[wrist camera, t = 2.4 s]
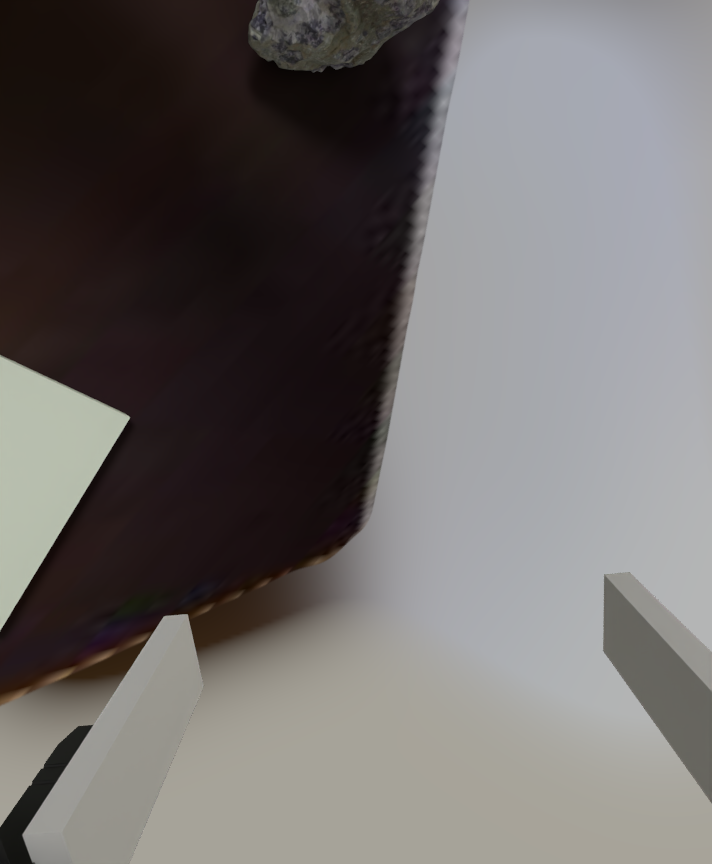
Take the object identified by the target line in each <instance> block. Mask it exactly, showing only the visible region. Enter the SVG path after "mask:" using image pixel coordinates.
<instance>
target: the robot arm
mask: <svg viewBox="0 0 712 864" xmlns="http://www.w3.org/2000/svg"><path fill="white" fill-rule="evenodd" d="M603 645H604V646H603V649H604V650H603V651H604V653H605V654H606V655H607V657H608V658H609V660H610V661H611V662H612V664H613V665H614V667H615V668H616V669H617V671H618V672H619V674H620V675H621V676H622V678H623V679H624V681H625V682H626V684H627V685H628V686H629V688H630V689H631V690H632V692H633V693H634V695H635V696H636V697H637V699H638V700H639V702H640V703H641V705H642V706H643V707H644V709H645V710H646V712H647V713H648V714H649V716H650V717H651V719H652V720H653V721H654V723H655V724H656V726H657V727H658V728H659V730H660V731H661V733H662V734H663V735H664V737H665V738H666V740H667V741H668V742H669V744H670V745H671V747H672V748H673V749H674V751H675V752H676V754H677V755H678V757H679V758H680V759H681V761H682V762H683V764H684V765H685V766H686V768H687V769H688V771H689V772H690V773H691V775H692V776H693V778H694V779H695V780H696V782H697V783H698V785H699V786H700V787H701V789H702V790H703V792H704V793H705V795H706V796H707V797H708V799H709V800H710V802H711V803H712V652H711V651H710V650H709V649H708V648H707V647H706V646H705V645H704V644H703V643H702V642H700V641H699V640H698V639H697V638H696V637H695V636H694V635H693V634H692V633H691V632H690V631H689V630H688V629H687V628H686V627H685V626H684V625H683V624H682V623H681V622H680V621H679V620H678V619H677V618H676V617H675V616H674V615H673V614H672V613H671V612H670V611H669V610H667V608H665V607H664V605H662V604H661V603H660V602H659V601H658V600H657V599H656V598H655V597H654V596H653V595H652V594H651V593H650V592H649V591H648V590H647V589H646V588H645V587H644V586H643V585H642V584H641V583H640V582H639V581H638V580H637V579H636V578H635V577H634V576H633V575H632V574H631V573H629V572H628V573H617V574H607V575H604V642H603ZM203 687H204V686H203V681H202V676H201V672H200V667H199V663H198V658H197V654H196V650H195V645H194V641H193V637H192V632H191V627H190V623H189V619H188V614H184V615H173V616H164V617H163V619H162V620H161V622H160V623H159V625H158V626H157V628H156V629H155V631H154V633H153V634H152V636H151V637H150V639H149V640H148V642H147V643H146V645H145V646H144V648H143V650H142V651H141V653H140V654H139V656H138V657H137V659H136V660H135V662H134V664H133V665H132V667H131V668H130V670H129V671H128V673H127V674H126V676H125V677H124V679H123V681H122V682H121V683H120V685H119V687H118V688H117V690H116V691H115V693H114V694H113V696H112V697H111V699H110V700H109V702H108V703H107V705H106V707H105V708H104V710H103V711H102V713H101V714H100V716H99V717H98V719H97V721H96V722H95V724H94V725H88V726H78V727H77V728H76V729H75V730H74V731H73V732H71V733H70V734H69V735H68V736H67V737H66V738H65V739H64V740H63V741H62V742H60V743H59V744H58V746H57V747H56V748H55V750H54V751H53V753H52V754H51V756H50V757H49V758H48V760H47V761H46V763H45V764H44V768H43V769H41V770H40V771H39V773H38V774H37V776H36V777H35V778H34V780H33V781H32V785H31V786H29V787H28V788H27V790H26V791H25V793H24V794H23V795H22V797H21V798H20V800H19V801H18V803H17V804H16V805H15V807H14V808H13V810H12V812H11V813H10V814H9V815H8V817H7V818H6V820H5V821H4V823H3V824H2V825H1V827H0V864H129V863H130V861H131V858H132V856H133V853H134V851H135V849H136V846H137V844H138V841H139V839H140V837H141V835H142V832H143V830H144V827H145V825H146V823H147V820H148V818H149V816H150V813H151V811H152V808H153V806H154V804H155V801H156V799H157V797H158V794H159V792H160V789H161V787H162V784H163V782H164V780H165V778H166V775H167V773H168V770H169V768H170V766H171V763H172V761H173V759H174V756H175V754H176V751H177V749H178V747H179V744H180V742H181V740H182V737H183V735H184V732H185V730H186V727H187V725H188V723H189V721H190V718H191V716H192V713H193V711H194V709H195V706H196V704H197V702H198V699H199V697H200V694H201V692H202V690H203Z"/></svg>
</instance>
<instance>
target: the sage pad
mask: <svg viewBox="0 0 712 864" xmlns="http://www.w3.org/2000/svg"><path fill="white" fill-rule="evenodd" d="M129 419H130V417H129V416H128V415H126V414H125V413H123V412H121V411H119V410H117V409H114V408H112V407H110V406H108V405H106V404H104V403H102V402H100V401H97V400H95V399H93V398H91V397H89V396H87V395H85V394H82V393H80V392H78V391H76V390H74V389H72V388H70V387H68V386H65V385H63V384H61V383H59V382H57V381H55V380H53V379H50V378H48V377H46V376H44V375H42V374H40V373H38V372H36V371H33V370H31V369H29V368H27V367H25V366H23V365H21V364H18V363H16V362H14V361H12V360H10V359H8V358H6V357H4V356H1V355H0V630H1V628H2V627H3V625H4V624H5V622H6V620H7V619H8V617H9V615H10V614H11V612H12V610H13V609H14V607H15V606H16V604H17V602H18V601H19V599H20V597H21V596H22V594H23V592H24V591H25V589H26V588H27V586H28V584H29V583H30V581H31V579H32V578H33V576H34V574H35V573H36V571H37V569H38V568H39V566H40V565H41V563H42V561H43V560H44V558H45V556H46V555H47V553H48V551H49V550H50V548H51V547H52V545H53V543H54V542H55V540H56V538H57V537H58V535H59V533H60V532H61V530H62V529H63V527H64V525H65V524H66V522H67V520H68V519H69V517H70V515H71V514H72V512H73V510H74V509H75V507H76V506H77V504H78V502H79V501H80V499H81V497H82V496H83V494H84V492H85V491H86V489H87V488H88V486H89V484H90V483H91V481H92V479H93V478H94V476H95V474H96V473H97V471H98V470H99V468H100V466H101V465H102V463H103V461H104V460H105V458H106V456H107V455H108V453H109V451H110V450H111V448H112V447H113V445H114V443H115V442H116V440H117V438H118V437H119V435H120V433H121V432H122V430H123V429H124V427H125V425H126V424H127V422H128V420H129Z"/></svg>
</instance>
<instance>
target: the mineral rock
mask: <svg viewBox="0 0 712 864" xmlns="http://www.w3.org/2000/svg"><path fill="white" fill-rule="evenodd" d="M438 2H439V0H259V1H258V2H257V4H256V8H255V12H254V13H253V18H252V20H251V22H250V24H249V31H248V42H249V44H250V46H251V47H252V48H253V49H254V50H255V51H256V52H257V54H258V55H259V56H260V57H262V58H264V59H266V60H267V61H272V60H274V61H275V63H276V64H277V65H278V67H279V68H282V69H289V70H305V71H312V72H313V73H314V72H316V71H319V72H322V71H323V70H324V69H325V68H326V67H327V66H331V67H333V68H334V69H335V70H336V69H340V68H342V67H349V68H351V67H354V66H357V65H362V64H364V63H365V61H367V60H369V59H371V58H372V57H373V56H374V55H375V54H376V53H377V51H378V50H379V49H380V47H381V46H382V45H383V43H384V42H386V41H387V40H388V39H389V38H391V37H393V36H394V35H395V34H397V33H399V32H401V31H403V30H404V29H406V28H407V27H409V26H410V25H411V24H412V23H413V22H415V21H416V20H418V19H421V18H423V17H424V16H425V15H428V14H429V13H431V12H432V11H433V10H434V8H435V6H436V5H437V4H438Z"/></svg>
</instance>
